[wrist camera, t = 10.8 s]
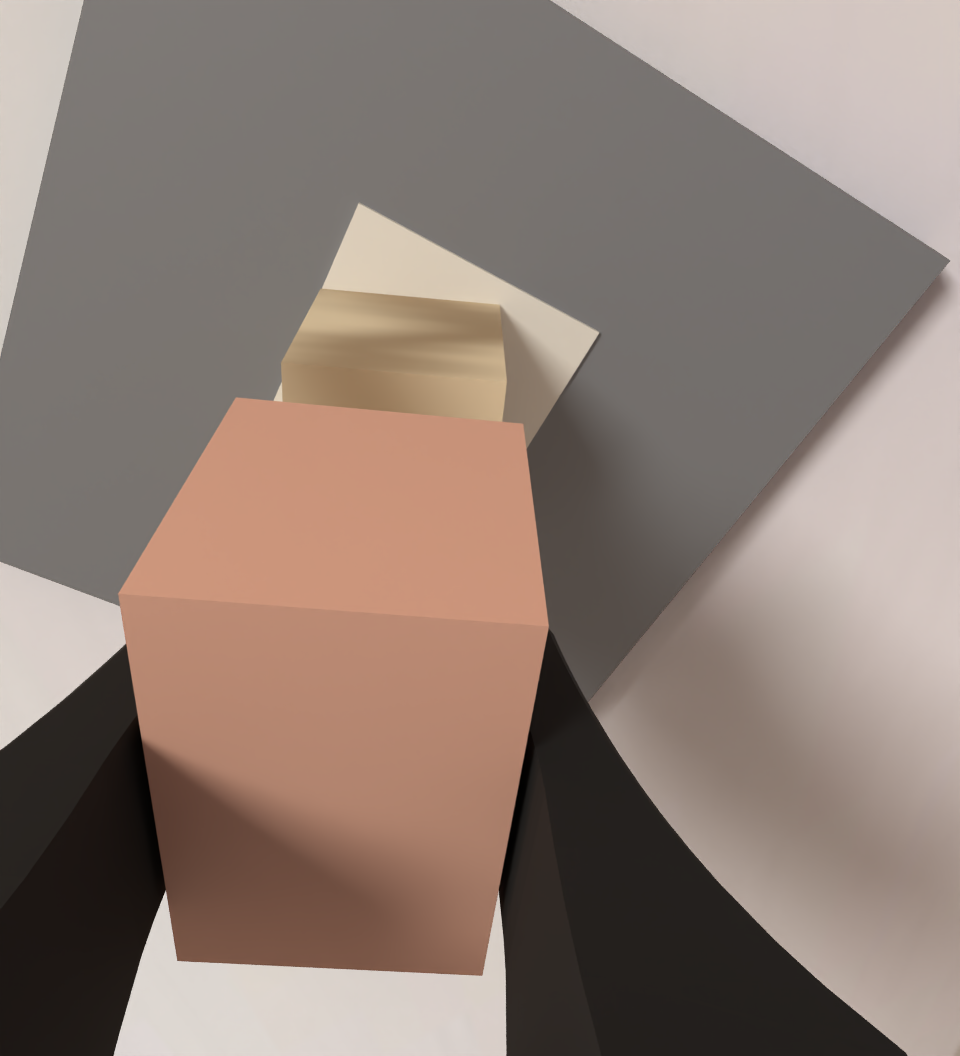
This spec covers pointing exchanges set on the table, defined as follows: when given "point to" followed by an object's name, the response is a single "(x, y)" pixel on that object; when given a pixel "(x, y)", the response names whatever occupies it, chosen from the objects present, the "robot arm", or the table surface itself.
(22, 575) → the table surface
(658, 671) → the table surface
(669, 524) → the baseplate
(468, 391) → the maple brick
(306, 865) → the terracotta brick
